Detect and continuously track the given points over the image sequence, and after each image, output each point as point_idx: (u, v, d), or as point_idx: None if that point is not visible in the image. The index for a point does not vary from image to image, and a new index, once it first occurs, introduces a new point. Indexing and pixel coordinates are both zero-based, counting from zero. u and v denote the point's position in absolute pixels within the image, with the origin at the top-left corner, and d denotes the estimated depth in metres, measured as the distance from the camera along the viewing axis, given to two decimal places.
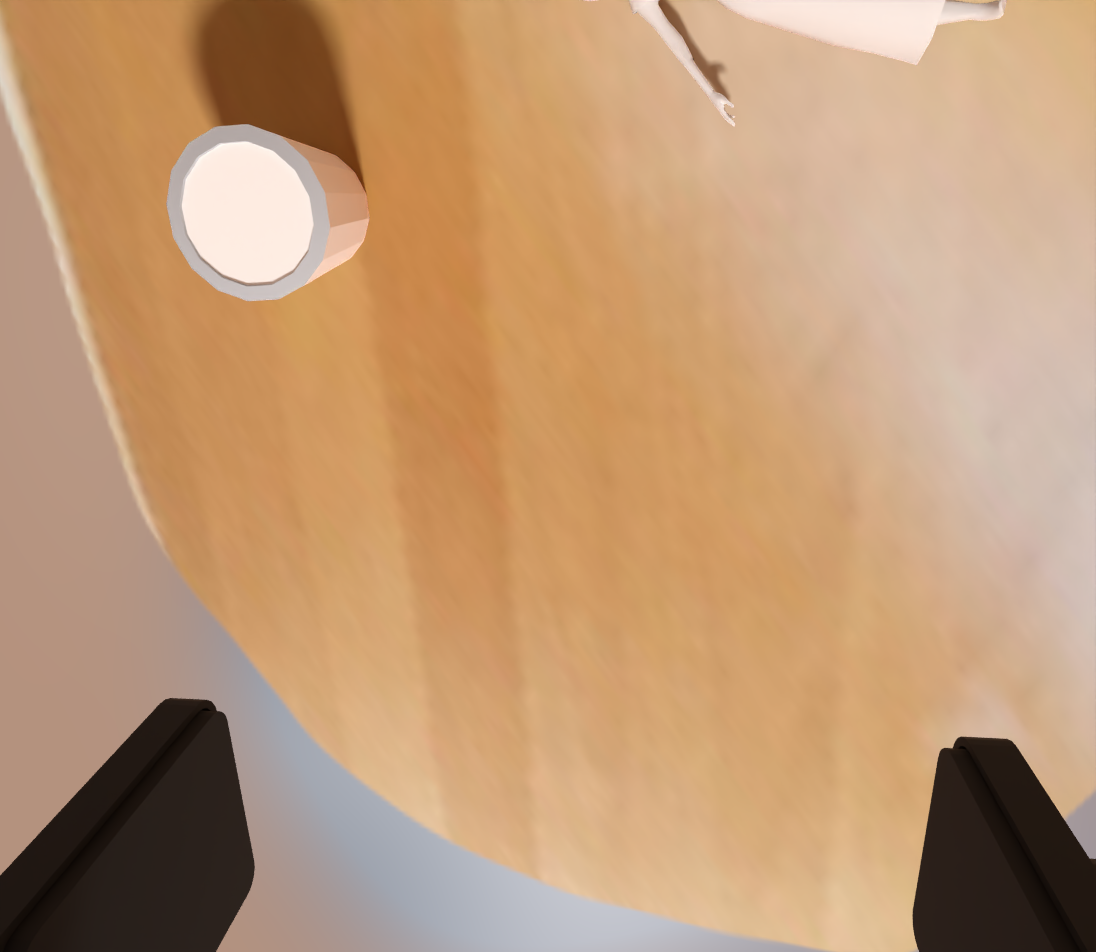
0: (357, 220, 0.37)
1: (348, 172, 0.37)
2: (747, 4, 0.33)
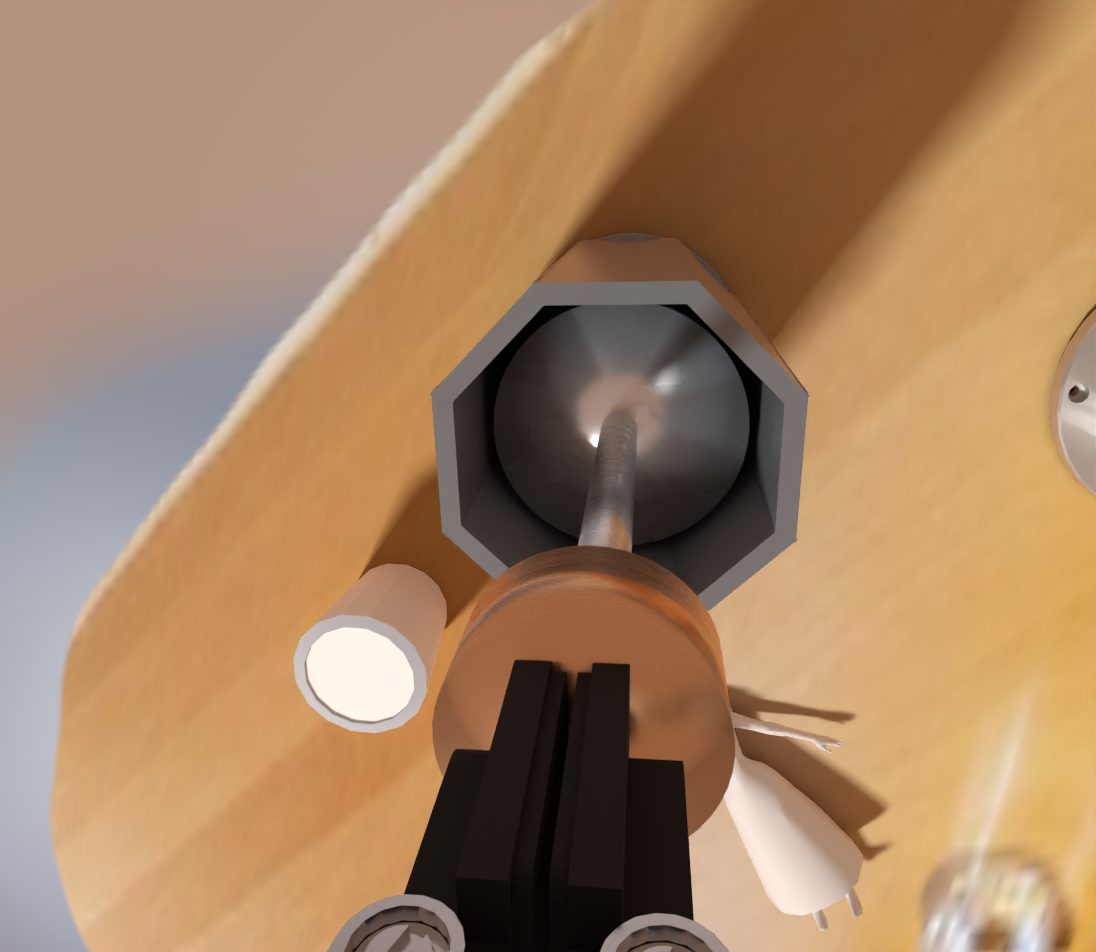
0: None
1: (442, 632, 0.46)
2: (730, 804, 0.46)
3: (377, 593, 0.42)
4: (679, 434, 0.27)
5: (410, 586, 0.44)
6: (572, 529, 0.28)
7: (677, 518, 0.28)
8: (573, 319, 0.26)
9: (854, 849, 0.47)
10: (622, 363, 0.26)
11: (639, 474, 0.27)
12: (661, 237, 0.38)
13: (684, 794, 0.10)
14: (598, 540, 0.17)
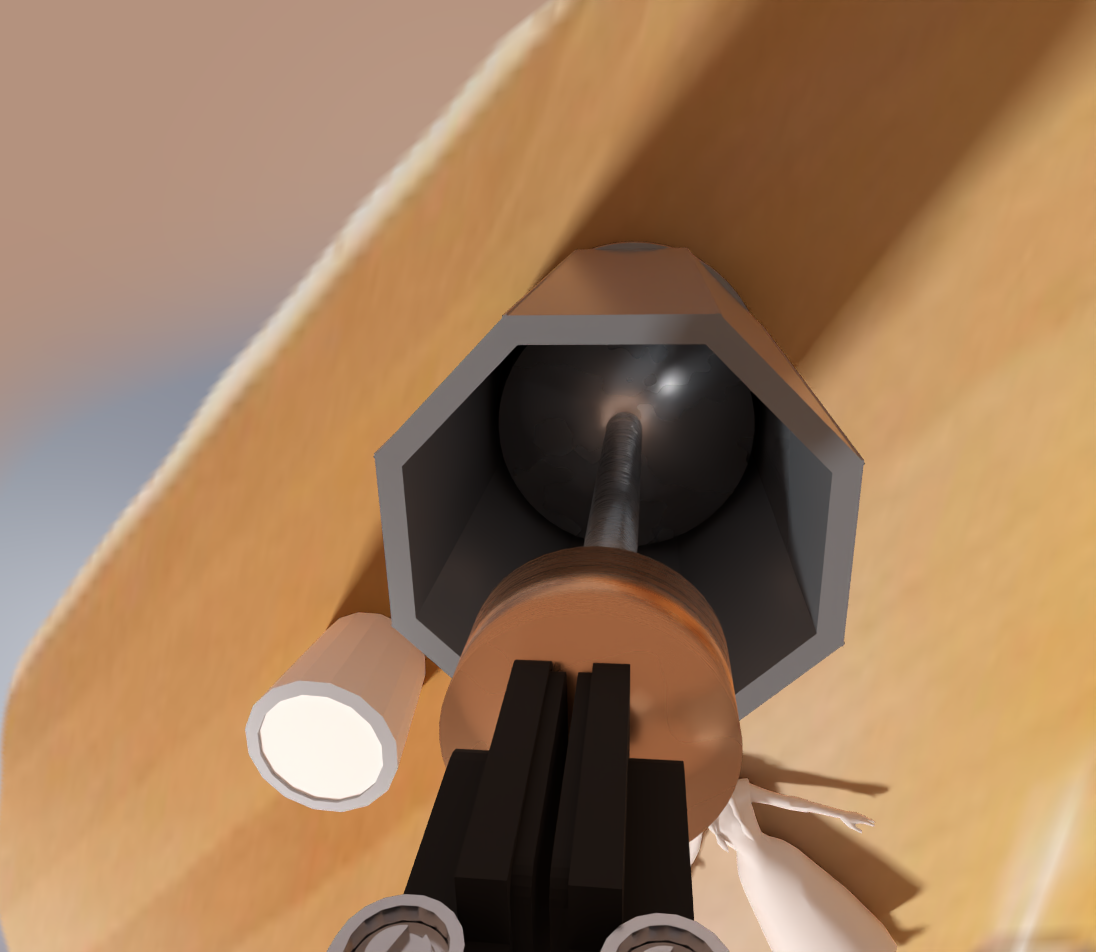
0: None
1: None
2: (746, 887, 0.41)
3: (343, 651, 0.37)
4: (684, 435, 0.27)
5: (382, 641, 0.38)
6: (577, 529, 0.28)
7: (682, 519, 0.28)
8: None
9: (886, 938, 0.41)
10: (627, 364, 0.26)
11: (645, 475, 0.27)
12: (668, 247, 0.32)
13: (684, 794, 0.10)
14: (604, 540, 0.17)
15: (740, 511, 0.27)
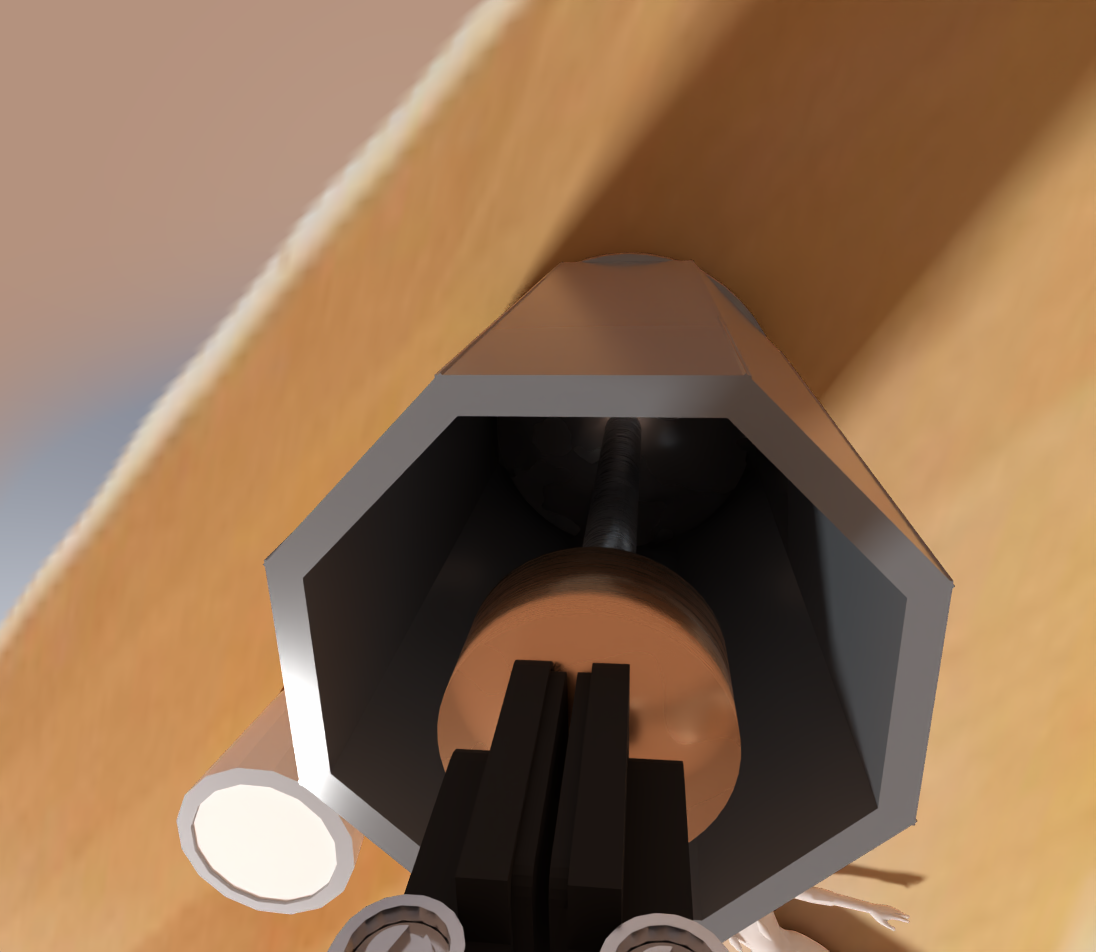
0: None
1: None
2: None
3: None
4: (683, 435, 0.27)
5: None
6: (576, 530, 0.28)
7: (681, 519, 0.28)
8: None
9: None
10: None
11: (643, 475, 0.27)
12: (670, 259, 0.27)
13: (684, 794, 0.10)
14: (603, 541, 0.17)
15: (759, 588, 0.22)
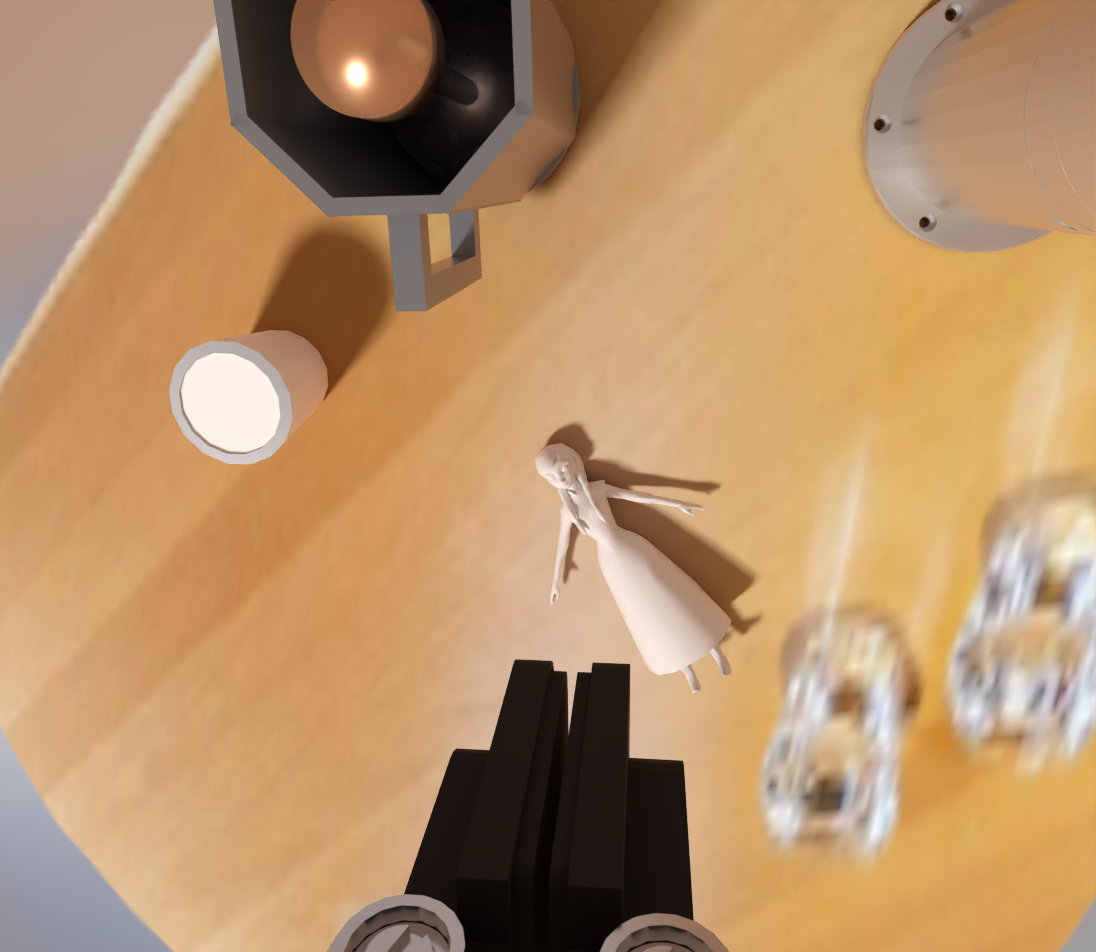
0: None
1: (321, 393, 0.49)
2: (605, 572, 0.50)
3: (251, 336, 0.45)
4: (506, 94, 0.40)
5: (286, 340, 0.47)
6: (440, 171, 0.42)
7: None
8: (432, 10, 0.39)
9: (722, 613, 0.50)
10: (465, 42, 0.40)
11: (482, 126, 0.41)
12: None
13: (684, 794, 0.10)
14: None
15: None
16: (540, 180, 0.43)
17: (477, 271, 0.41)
